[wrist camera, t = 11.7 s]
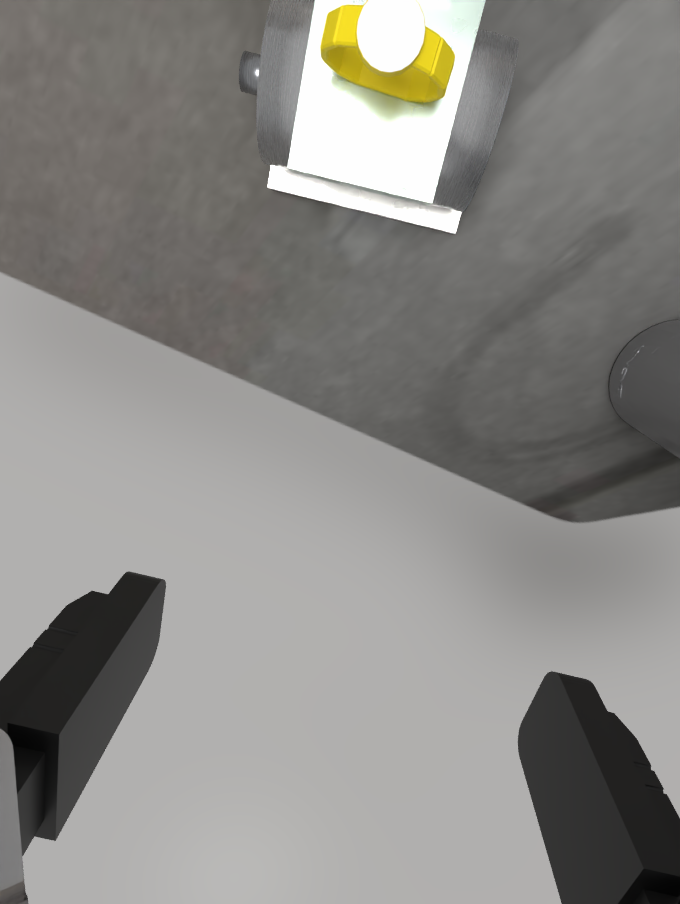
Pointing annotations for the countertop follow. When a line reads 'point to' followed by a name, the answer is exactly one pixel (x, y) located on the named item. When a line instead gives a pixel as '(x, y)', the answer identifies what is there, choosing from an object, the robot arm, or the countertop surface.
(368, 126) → the motor
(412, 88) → the yellow watch
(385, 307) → the countertop surface
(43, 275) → the countertop surface
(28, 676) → the robot arm
